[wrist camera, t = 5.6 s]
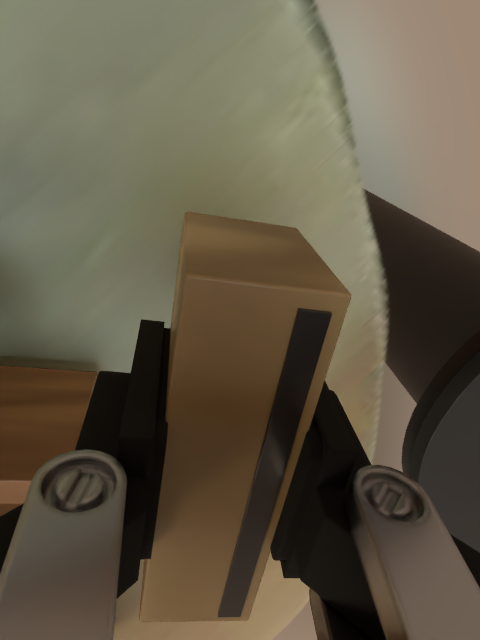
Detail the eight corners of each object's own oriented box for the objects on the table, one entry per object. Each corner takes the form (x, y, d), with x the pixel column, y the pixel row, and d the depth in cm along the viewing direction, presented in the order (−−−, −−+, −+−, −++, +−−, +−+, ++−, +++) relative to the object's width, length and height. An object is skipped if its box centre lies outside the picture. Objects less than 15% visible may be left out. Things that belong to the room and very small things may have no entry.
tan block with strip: (297, 227, 9) (355, 297, 6) (233, 494, 13) (249, 624, 10) (184, 210, 9) (184, 275, 6) (150, 491, 12) (138, 627, 9)
